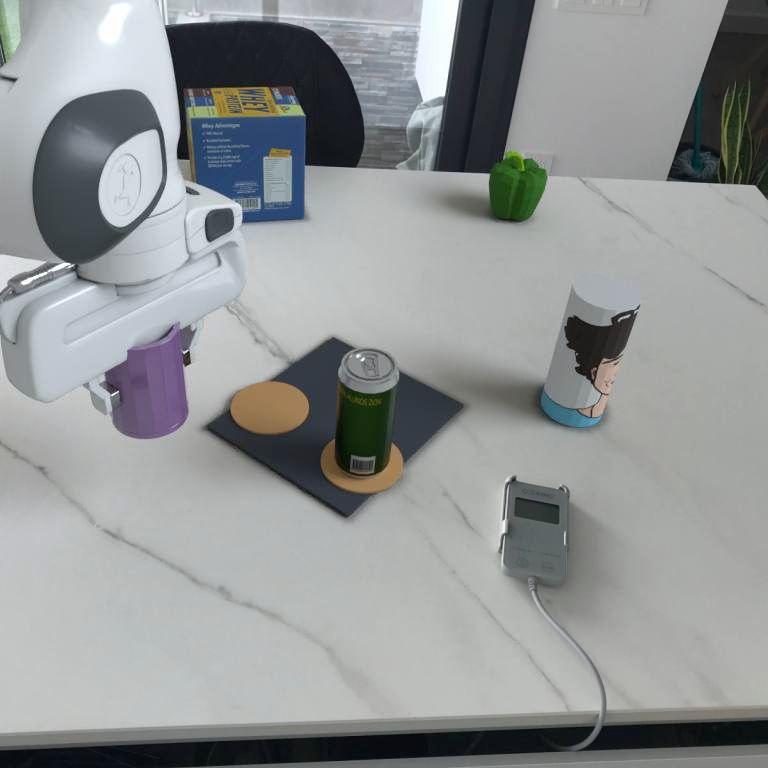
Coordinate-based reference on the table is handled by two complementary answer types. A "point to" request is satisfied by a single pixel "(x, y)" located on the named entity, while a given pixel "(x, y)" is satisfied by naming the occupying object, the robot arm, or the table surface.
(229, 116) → the protein box
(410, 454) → the placemat
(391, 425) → the beer can
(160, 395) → the purple cup
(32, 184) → the robot arm
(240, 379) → the table surface
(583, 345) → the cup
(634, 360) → the table surface
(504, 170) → the bell pepper
